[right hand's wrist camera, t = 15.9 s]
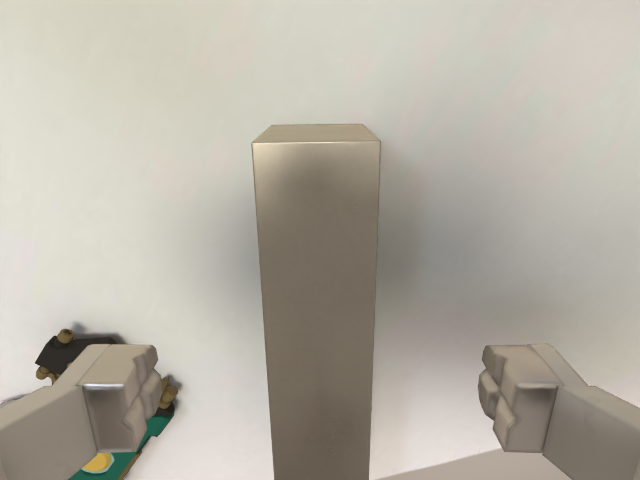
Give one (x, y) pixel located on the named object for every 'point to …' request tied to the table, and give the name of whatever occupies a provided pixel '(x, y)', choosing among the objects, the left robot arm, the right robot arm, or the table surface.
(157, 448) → the table surface
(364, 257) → the box
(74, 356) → the spray gun
